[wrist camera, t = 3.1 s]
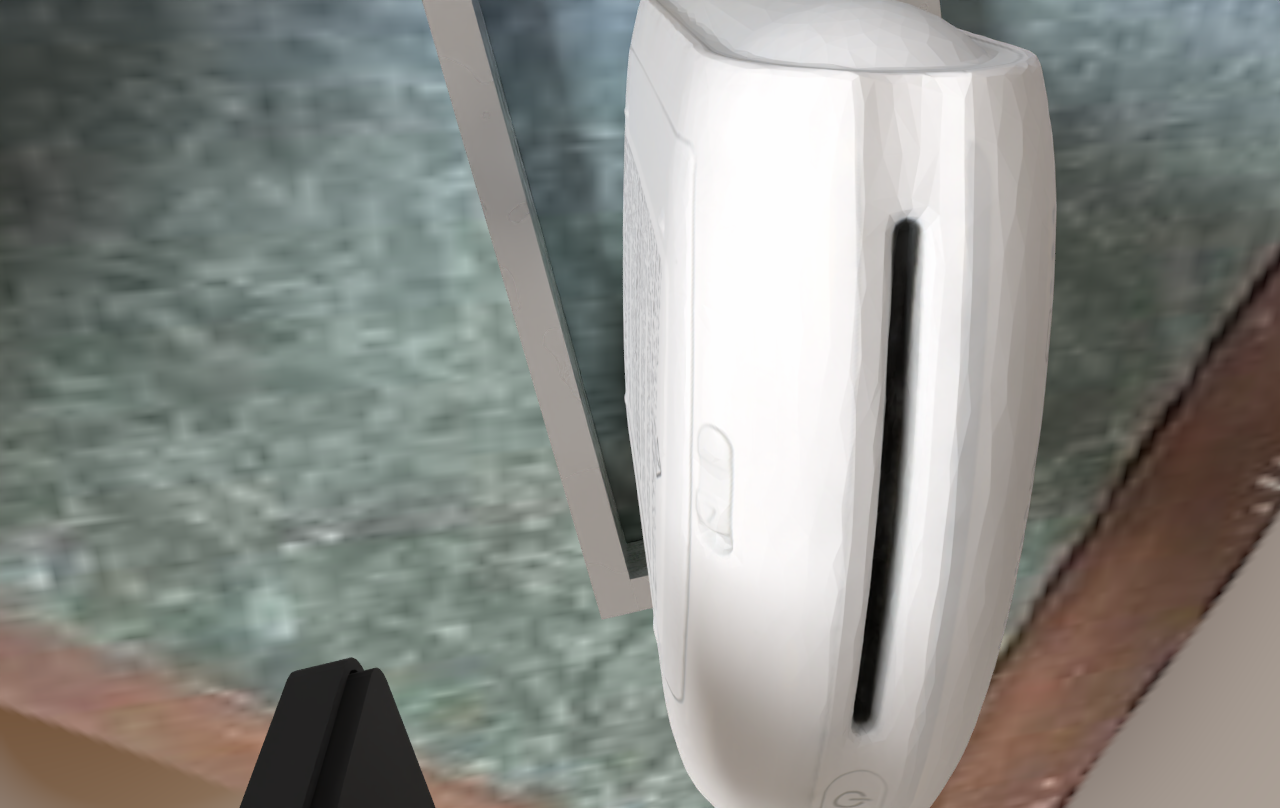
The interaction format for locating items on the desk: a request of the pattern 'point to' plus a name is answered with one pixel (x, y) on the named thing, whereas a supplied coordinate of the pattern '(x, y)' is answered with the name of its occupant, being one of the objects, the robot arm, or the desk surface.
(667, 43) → the photo printer
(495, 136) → the dock
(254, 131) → the desk surface
